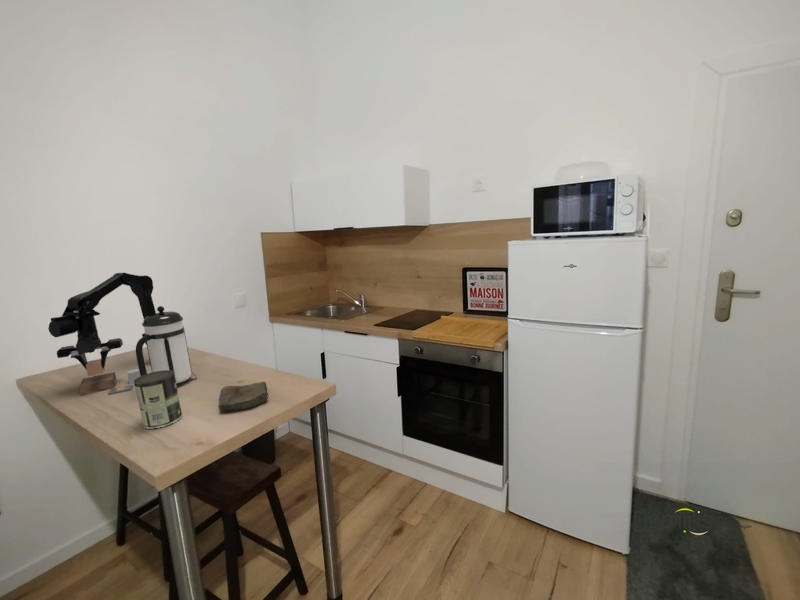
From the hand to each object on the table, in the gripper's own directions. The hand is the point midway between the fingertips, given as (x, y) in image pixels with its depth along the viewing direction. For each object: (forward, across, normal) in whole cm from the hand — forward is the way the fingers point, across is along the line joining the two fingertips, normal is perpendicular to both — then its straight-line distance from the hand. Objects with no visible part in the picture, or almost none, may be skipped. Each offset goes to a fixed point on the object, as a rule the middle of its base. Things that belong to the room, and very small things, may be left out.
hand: (96, 369), depth 145 cm
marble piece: (+8, +47, -48) cm, 68 cm away
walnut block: (+8, 0, 0) cm, 8 cm away
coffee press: (+8, +25, -16) cm, 31 cm away
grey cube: (+8, +12, -1) cm, 14 cm away
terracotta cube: (+1, 0, 0) cm, 1 cm away
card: (+7, +8, -9) cm, 14 cm away
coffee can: (+8, +24, -48) cm, 54 cm away
